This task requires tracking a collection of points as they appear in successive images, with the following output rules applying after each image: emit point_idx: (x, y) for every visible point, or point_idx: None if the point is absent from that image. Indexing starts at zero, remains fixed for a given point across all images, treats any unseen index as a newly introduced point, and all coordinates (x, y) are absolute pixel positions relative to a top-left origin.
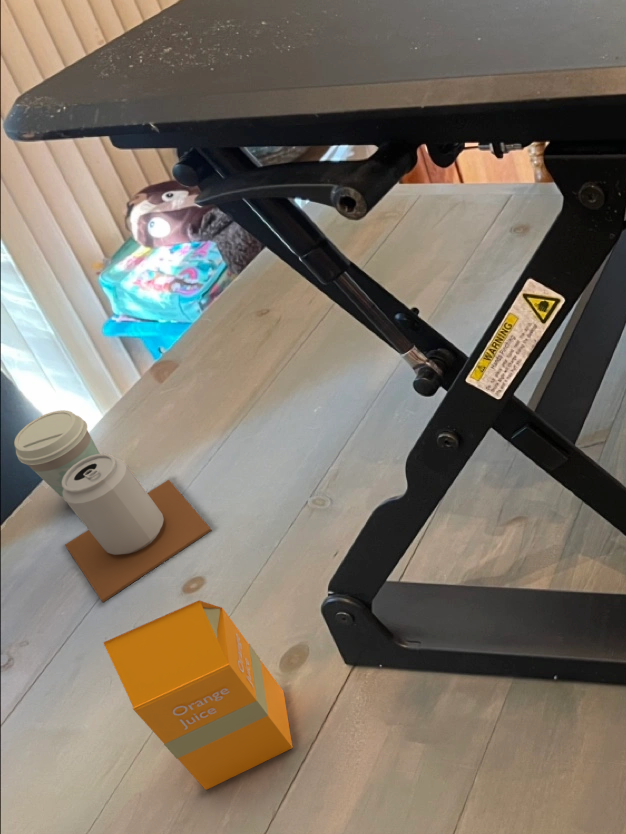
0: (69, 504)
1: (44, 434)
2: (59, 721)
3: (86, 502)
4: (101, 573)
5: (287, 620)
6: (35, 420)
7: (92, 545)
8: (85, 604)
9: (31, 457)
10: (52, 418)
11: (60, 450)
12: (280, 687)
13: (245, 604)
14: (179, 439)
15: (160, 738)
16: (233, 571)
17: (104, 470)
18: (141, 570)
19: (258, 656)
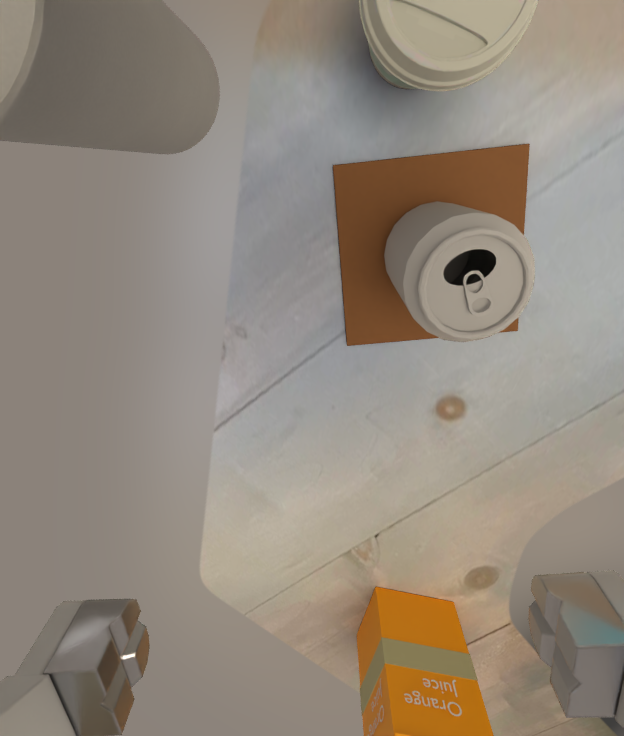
0: (404, 299)
1: None
2: (259, 481)
3: (432, 333)
4: (362, 291)
5: (502, 535)
6: None
7: (369, 211)
8: (326, 327)
9: (390, 55)
10: None
11: (451, 85)
12: (455, 609)
13: (481, 483)
14: (603, 8)
15: (363, 725)
16: (497, 425)
17: (499, 298)
18: (409, 333)
19: (470, 658)
